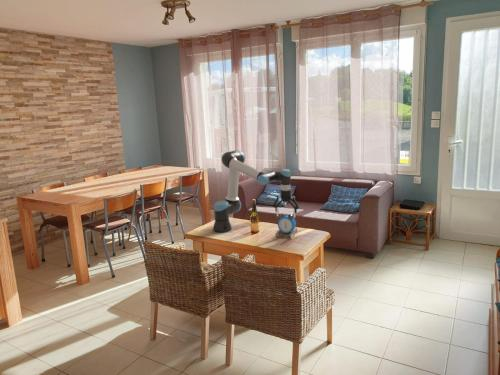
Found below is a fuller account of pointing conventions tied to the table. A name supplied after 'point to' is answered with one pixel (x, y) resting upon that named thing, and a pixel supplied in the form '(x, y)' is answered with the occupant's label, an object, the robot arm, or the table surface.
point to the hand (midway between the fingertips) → (286, 216)
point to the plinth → (286, 234)
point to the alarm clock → (286, 223)
